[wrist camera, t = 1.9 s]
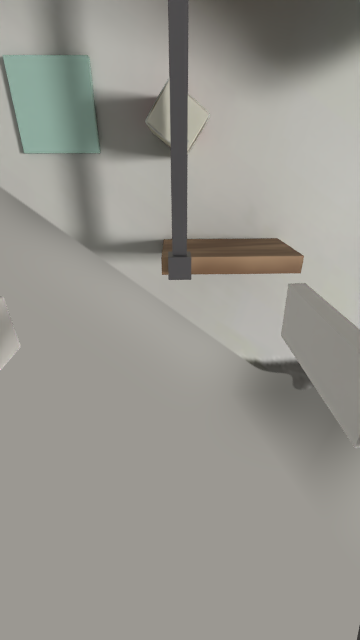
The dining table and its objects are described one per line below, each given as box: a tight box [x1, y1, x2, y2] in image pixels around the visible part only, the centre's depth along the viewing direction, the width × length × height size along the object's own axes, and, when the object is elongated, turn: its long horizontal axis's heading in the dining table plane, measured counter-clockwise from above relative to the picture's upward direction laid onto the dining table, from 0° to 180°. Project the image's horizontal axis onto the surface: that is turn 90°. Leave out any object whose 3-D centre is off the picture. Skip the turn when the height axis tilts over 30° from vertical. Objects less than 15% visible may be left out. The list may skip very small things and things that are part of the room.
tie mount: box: [161, 238, 304, 275], centre depth 30 cm, size 30×16×9 cm, turn 0°
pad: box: [3, 55, 100, 153], centre depth 33 cm, size 9×9×1 cm
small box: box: [145, 78, 210, 154], centre depth 31 cm, size 5×4×8 cm
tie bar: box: [168, 0, 191, 280], centre depth 25 cm, size 29×2×2 cm, turn 0°
